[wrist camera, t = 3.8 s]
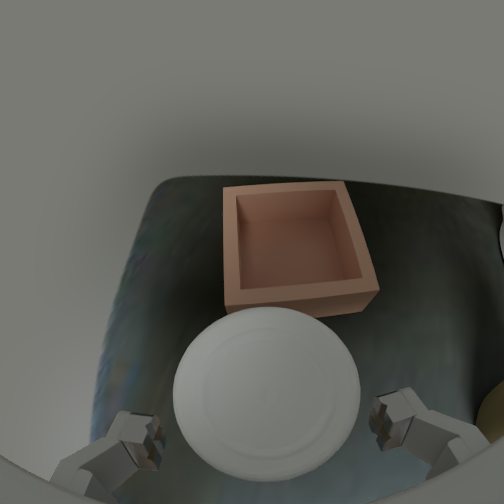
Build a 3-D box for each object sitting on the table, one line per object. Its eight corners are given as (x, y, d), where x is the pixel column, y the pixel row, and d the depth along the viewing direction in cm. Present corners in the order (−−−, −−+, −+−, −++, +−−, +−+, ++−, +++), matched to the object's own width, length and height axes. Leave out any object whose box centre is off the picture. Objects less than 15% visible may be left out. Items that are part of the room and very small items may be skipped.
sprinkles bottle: (221, 389, 18) (141, 345, 6) (279, 361, 18) (305, 271, 7) (250, 445, 15) (220, 512, 4) (310, 415, 16) (397, 420, 5)
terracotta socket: (335, 211, 25) (343, 181, 22) (361, 311, 20) (379, 289, 17) (228, 218, 25) (223, 187, 22) (231, 325, 20) (224, 305, 17)
